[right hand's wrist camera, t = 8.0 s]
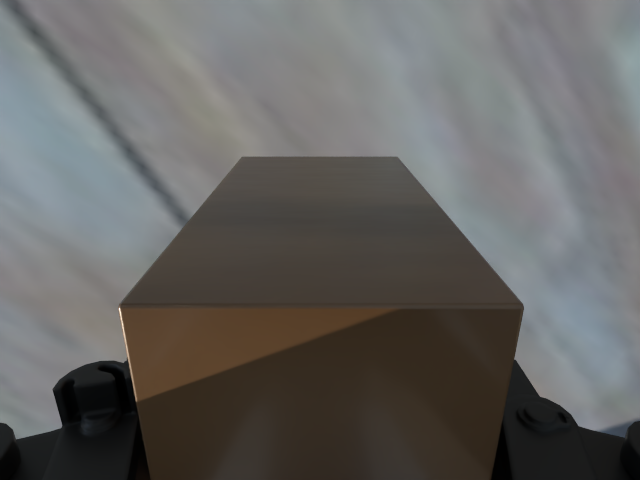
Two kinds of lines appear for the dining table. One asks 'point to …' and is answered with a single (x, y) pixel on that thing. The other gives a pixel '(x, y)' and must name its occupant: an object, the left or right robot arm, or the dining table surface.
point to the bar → (320, 332)
